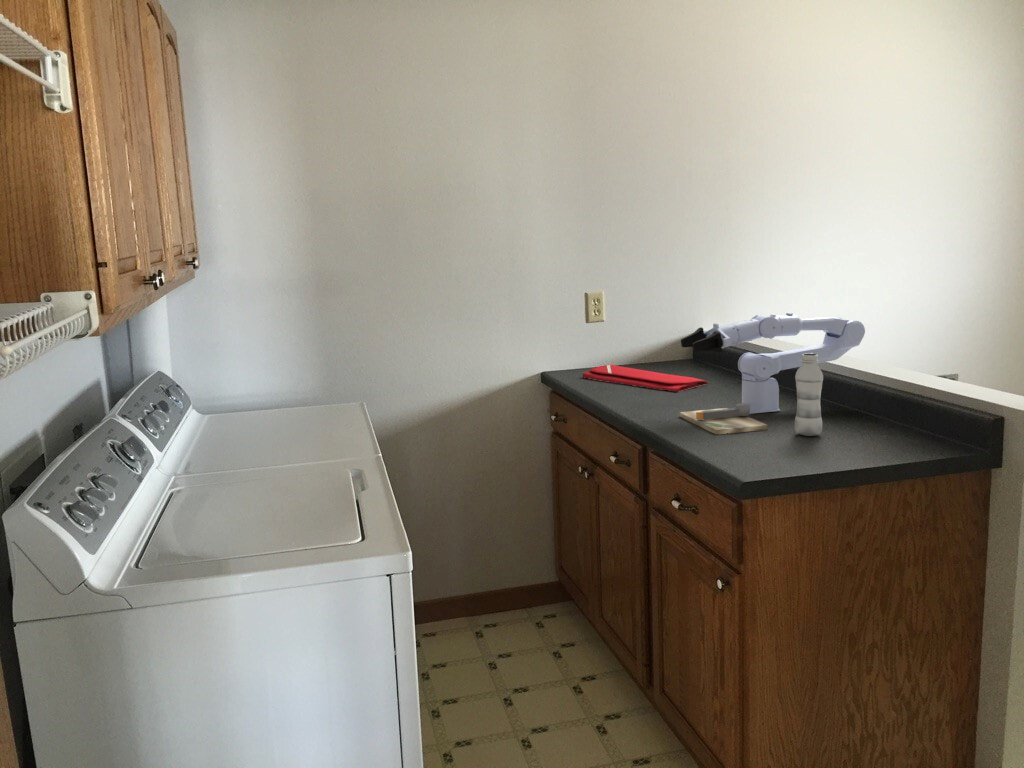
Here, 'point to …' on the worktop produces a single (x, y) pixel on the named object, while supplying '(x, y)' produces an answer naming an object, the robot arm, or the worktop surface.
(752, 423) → the light wood flat board
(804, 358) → the plastic bottle
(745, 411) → the grey bar
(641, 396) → the worktop surface
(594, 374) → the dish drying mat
